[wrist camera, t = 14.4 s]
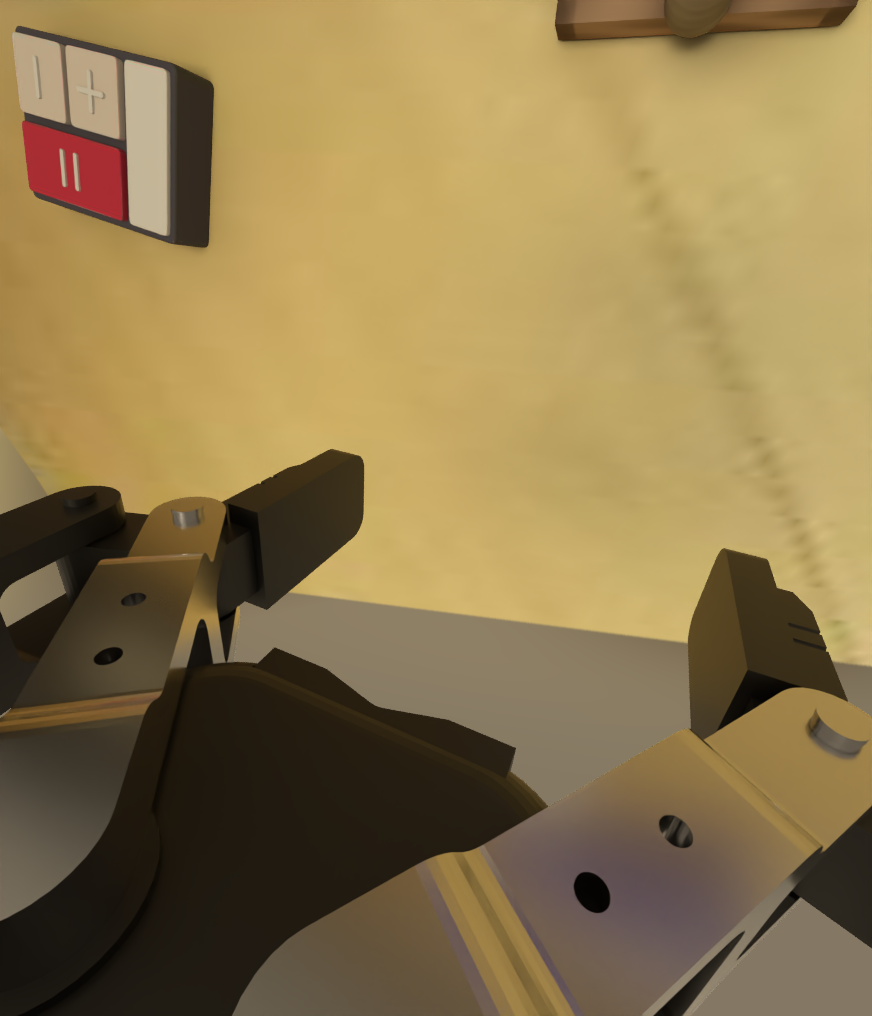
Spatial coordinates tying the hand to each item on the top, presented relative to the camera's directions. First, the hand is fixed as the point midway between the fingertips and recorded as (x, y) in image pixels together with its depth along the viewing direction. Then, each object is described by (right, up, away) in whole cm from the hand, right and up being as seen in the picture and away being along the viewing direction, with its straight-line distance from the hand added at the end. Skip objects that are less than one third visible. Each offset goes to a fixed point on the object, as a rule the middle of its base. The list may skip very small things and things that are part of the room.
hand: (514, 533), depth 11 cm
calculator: (-26, +29, +29) cm, 49 cm away
